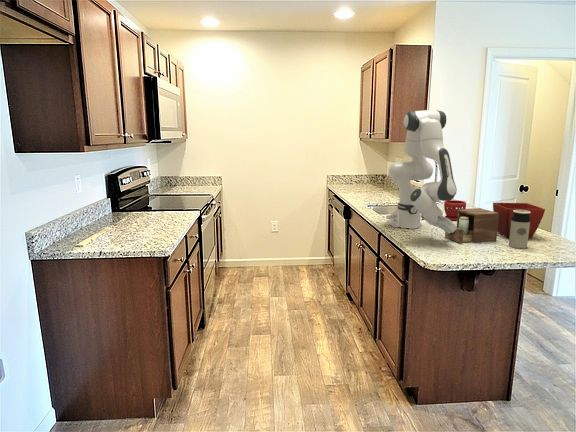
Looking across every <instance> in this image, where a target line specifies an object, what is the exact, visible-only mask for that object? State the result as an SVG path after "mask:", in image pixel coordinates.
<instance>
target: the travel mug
mask: <svg viewBox="0 0 576 432" xmlns="http://www.w3.org/2000/svg"><path fill="white" fill-rule="evenodd" d="M513 212H514V215H513V216H512V220H511V229H510V238H508V245H509V247H511V248H513V247H515V248H514V249H520V248H523V249H526V247H528V242H529V241H528V240H529V238H528V235H529V227H530V216H529V215H530V213H531V212H530V211H526V210H513Z"/></svg>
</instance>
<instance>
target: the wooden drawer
mask: <svg viewBox="0 0 576 432" xmlns="http://www.w3.org/2000/svg"><path fill="white" fill-rule="evenodd" d="M463 231H464V230H463V229H460V228H457V229H456V230H455V231H454V232H453V233H450V234H449V233H446V232H445V231H444V237H445V238H447V239H449V240H452V241H455V242H456V243H459V244H463V243H470V242H471V243H472V237H473V231H471V230H468V235H466V236H463Z"/></svg>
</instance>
